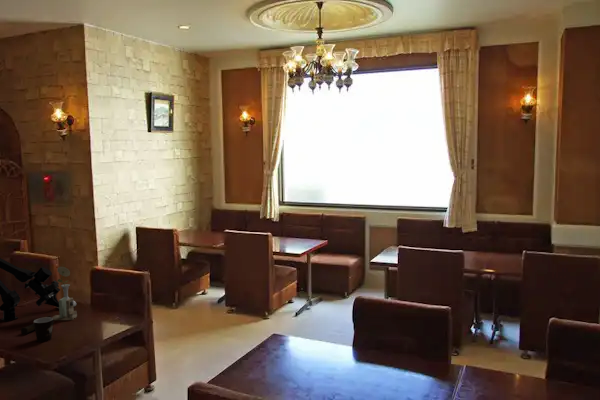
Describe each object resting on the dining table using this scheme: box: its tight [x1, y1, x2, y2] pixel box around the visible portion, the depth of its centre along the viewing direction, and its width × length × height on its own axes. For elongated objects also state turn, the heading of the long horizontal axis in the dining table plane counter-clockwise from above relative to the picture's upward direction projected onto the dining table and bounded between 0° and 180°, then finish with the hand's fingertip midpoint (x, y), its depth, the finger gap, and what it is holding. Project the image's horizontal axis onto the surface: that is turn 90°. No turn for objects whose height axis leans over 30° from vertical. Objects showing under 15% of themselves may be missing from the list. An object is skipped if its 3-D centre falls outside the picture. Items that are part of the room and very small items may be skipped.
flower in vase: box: [56, 266, 77, 309], centre depth 301 cm, size 13×11×25 cm
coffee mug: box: [33, 316, 55, 343], centre depth 249 cm, size 12×9×10 cm
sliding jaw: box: [58, 296, 67, 318], centre depth 281 cm, size 2×6×10 cm, turn 3°
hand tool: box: [20, 315, 52, 336], centre depth 264 cm, size 19×4×5 cm, turn 160°
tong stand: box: [51, 297, 78, 321], centre depth 281 cm, size 12×6×11 cm, turn 93°
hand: (59, 306), depth 281 cm, fingers closed, pressing on sliding jaw
